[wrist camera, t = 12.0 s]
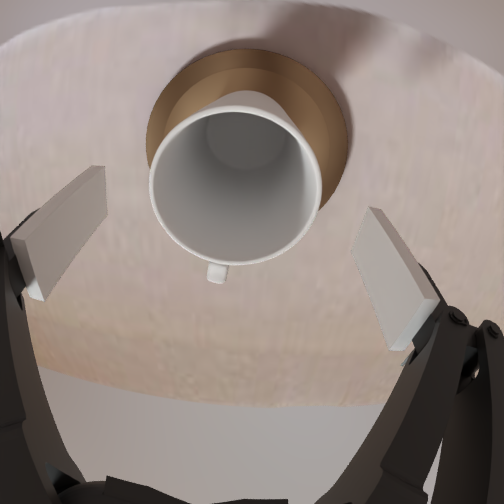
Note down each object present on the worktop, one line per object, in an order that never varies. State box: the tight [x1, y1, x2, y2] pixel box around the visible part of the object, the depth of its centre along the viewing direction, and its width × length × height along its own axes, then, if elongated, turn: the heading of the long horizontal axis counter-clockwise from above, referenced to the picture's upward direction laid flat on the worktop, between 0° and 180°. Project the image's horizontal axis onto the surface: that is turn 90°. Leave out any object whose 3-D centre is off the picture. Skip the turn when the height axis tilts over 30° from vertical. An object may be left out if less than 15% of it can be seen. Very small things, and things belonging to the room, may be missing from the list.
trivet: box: [146, 49, 348, 211], centre depth 22 cm, size 16×16×1 cm
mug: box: [149, 90, 322, 283], centre depth 17 cm, size 10×7×12 cm, turn 167°
